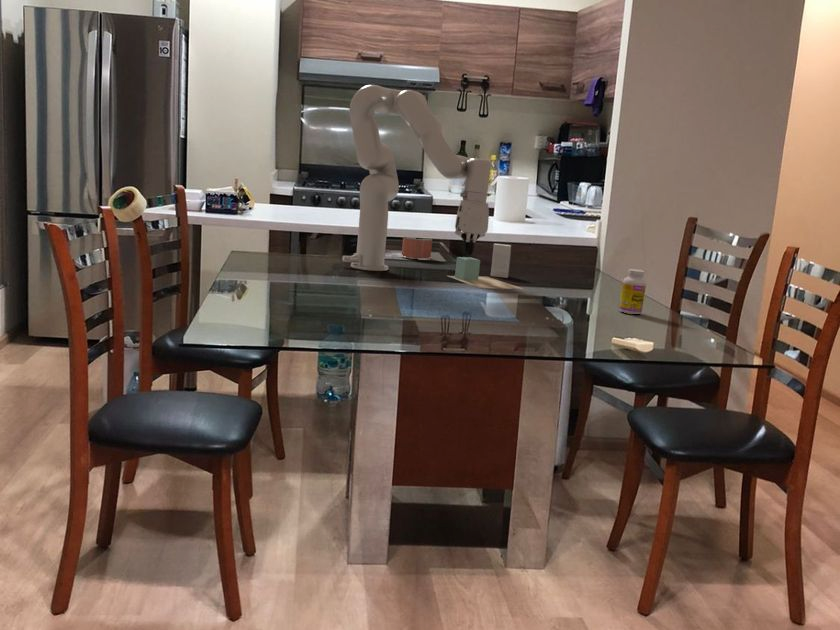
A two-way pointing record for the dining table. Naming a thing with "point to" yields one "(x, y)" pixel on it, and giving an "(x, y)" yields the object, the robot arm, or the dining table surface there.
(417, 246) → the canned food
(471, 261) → the sage green cube
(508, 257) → the skincare box
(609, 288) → the dining table surface
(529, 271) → the dining table surface
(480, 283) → the board
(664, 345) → the dining table surface
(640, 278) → the supplement bottle
